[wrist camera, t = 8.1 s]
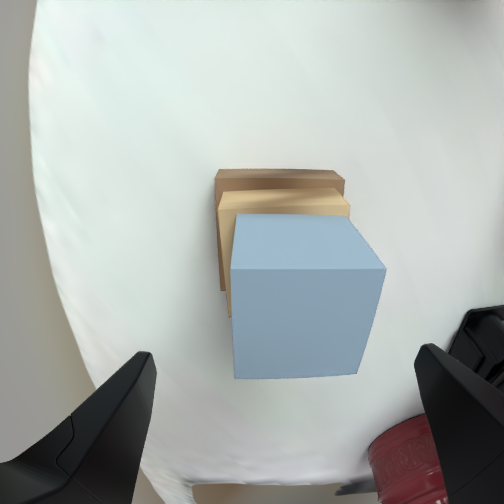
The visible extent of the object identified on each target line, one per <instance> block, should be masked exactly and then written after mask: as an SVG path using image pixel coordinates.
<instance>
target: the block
mask: <svg viewBox="0 0 504 504" xmlns="http://www.w3.org/2000/svg"><path fill="white" fill-rule="evenodd" d="M386 269H387V268H386V267H385V266H384V264H383V263H382V262H381V260H380V259H379V257H378V256H377V255H376V253H375V252H374V251H373V250H372V248H371V247H370V246H369V244H368V243H367V242H366V240H365V239H364V238H363V237H362V235H361V234H360V233H359V231H358V230H357V229H356V228H355V226H354V225H353V224H352V223H351V221H350V220H349V219H348V218H347V216H339V215H302V214H237V217H236V225H235V234H234V242H233V251H232V259H231V268H230V273H231V305H232V332H233V356H234V378H235V379H281V378H308V377H325V376H338V375H350V374H357V371H358V368H359V365H360V362H361V359H362V356H363V353H364V350H365V347H366V344H367V341H368V337H369V334H370V331H371V327H372V324H373V320H374V317H375V313H376V309H377V306H378V302H379V298H380V294H381V290H382V286H383V282H384V278H385V274H386Z"/></svg>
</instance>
